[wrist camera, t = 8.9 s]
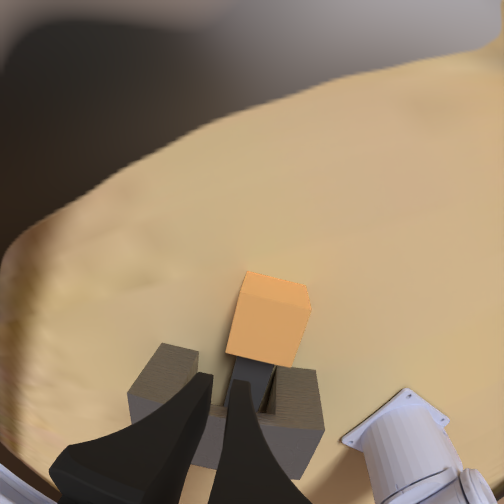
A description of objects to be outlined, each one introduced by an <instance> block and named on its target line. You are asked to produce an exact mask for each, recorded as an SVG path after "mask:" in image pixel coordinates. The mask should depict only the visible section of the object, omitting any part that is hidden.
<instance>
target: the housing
mask: <svg viewBox="0 0 504 504" xmlns="http://www.w3.org/2000/svg"><path fill="white" fill-rule="evenodd" d="M198 355H199V351H194V350H190V349H186V348H181V347H177V346H173V345H169V344H165V343H162V344H161V345H160V346H159V348H158V349H157V351H156V352H155V353H154V355H153V356H152V358H151V359H150V361H149V362H148V363H147V365H146V366H145V368H144V369H143V371H142V372H141V373H140V375H139V376H138V378H137V379H136V381H135V382H134V383H133V385H132V386H131V388H130V389H129V391H128V392H127V396H128V403H129V410H130V416H131V423H132V424H134V423H136V422H138V421H140V420H141V419H143V418H145V417H146V416H148V415H149V414H151V413H152V412H154V411H155V410H157V409H158V408H159V407H161V406H162V405H163V404H165V403H166V402H167V401H168V400H170V399H171V398H172V397H173V396H174V395H175V394H176V393H178V392H179V391H180V390H181V389H182V388H183V387H184V386H185V385H186V384H187V383H188V382H189V381H190V380H191V379H192V378H193V376H194V375H195V374H196V373H197V370H198ZM227 409H228V407H223V406H218V405H213V404H211V406H210V412H209V416H208V420H207V423H206V427H205V430H204V433H203V435H202V438H201V440H200V443H199V445H198V447H197V450H196V452H195V455H194V457H193V460H192V462H191V464H193V465H197V466H201V467H206V468H211V469H216V470H217V468H218V464H219V460H220V456H221V452H222V448H223V438H224V430H225V423H226V416H227ZM255 413H256V416H257V419H258V422H259V425H260V428H261V430H262V433H263V435H264V437H265V440H266V442H267V444H268V446H269V448H270V450H271V451H272V453H273V455H274V457H275V458H276V460H277V462H278V463H279V465H280V466H281V468H282V469H283V470H284V472H285V473H286V475H287V476H288V477H289V479H295V480H300V478H301V477H302V475H303V473H304V471H305V469H306V467H307V466H308V464H309V462H310V460H311V458H312V456H313V454H314V452H315V450H316V448H317V446H318V444H319V442H320V440H321V438H322V435H323V433H324V431H325V427H324V421H323V414H322V407H321V401H320V394H319V388H318V382H317V376H316V370H309V369H301V368H293V367H291V368H290V367H285V366H278V365H277V368H276V372H275V376H274V380H273V384H272V388H271V392H270V396H269V400H268V404H267V408H266V412H265V413H258V412H255Z"/></svg>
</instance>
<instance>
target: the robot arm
mask: <svg viewBox="0 0 504 504" xmlns="http://www.w3.org/2000/svg"><path fill="white" fill-rule="evenodd" d="M212 385H213V375H211V374H206V373H202V372H198V373H196V374H195V375H194V376H193V378H192V379H191V380H190V381H189V382H188V383H187V384H186V385H185V386H184V387H183V388H182V389H181V390H180V391H179V392H178V393H176V394H175V395H174V396H173V397H172V398H171V399H170V400H168V401H167V402H166V403H165V404H163V405H162V406H161V407H159V408H158V409H157V410H155V411H154V412H152V413H151V414H149V415H148V416H146V417H145V418H143V419H141V420H140V421H138V422H136V423H134V424H132V425H130V426H128V427H126V428H124V429H122V430H120V431H117V432H115V433H112V434H110V435H107V436H104V437H101V438H98V439H95V440H91V441H87V442H82V443H78V444H73V445H68V446H67V447H66V449H64V450H63V451H62V452H61V454H60V455H59V456H58V457H57V459H56V460H55V462H54V463H53V464H52V466H51V467H50V468H49V475H50V477H51V479H52V480H53V482H54V483H55V485H56V486H57V488H58V489H59V490H60V492H61V493H62V497H61V498H60V500H59V501H58V503H56V502H54V501H52V500H51V499H49V498H48V497H46V496H45V495H43V494H41V493H40V492H38V491H37V490H35V489H34V488H32V487H31V486H29V485H28V484H27V483H25V482H24V481H22V480H21V479H20V478H18V477H17V476H16V475H14V474H13V473H12V472H10V471H9V470H8V469H6V468H5V467H4V466H3V465H1V464H0V504H178V503H179V499H180V496H181V492H182V489H183V485H184V482H185V478H186V475H187V472H188V469H189V467H190V464H191V462H192V460H193V457H194V455H195V452H196V450H197V447H198V445H199V443H200V440H201V438H202V435H203V433H204V430H205V427H206V423H207V420H208V416H209V412H210V406H211V395H212ZM408 395H409V396H408ZM449 422H450V419H449V418H448V417H447V416H446V415H444V414H443V413H441V412H440V411H439V410H437V409H436V408H435V407H433V406H432V405H431V404H429V403H428V402H427V401H425V400H424V399H423V398H421V397H420V396H419V395H417V394H416V393H415V392H413V391H412V390H411V389H409V388H404V389H403V390H401V391H400V392H399V393H398V394H397V395H396V396H395V397H393V398H392V399H391V400H390V401H389V402H388V403H386V404H385V405H384V406H383V407H382V408H380V409H379V410H378V411H377V412H375V413H374V414H373V415H372V416H370V417H369V418H368V419H367V420H365V421H364V422H363V423H361V424H360V425H359V426H357V427H356V428H355V429H353V430H352V431H351V432H349V433H348V434H346V435H345V436H343V437H342V439H341V440H342V443H343V444H346V445H348V446H350V447H352V448H354V449H356V450H359V451H361V452H363V453H364V457H365V461H366V465H367V469H368V474H369V478H370V482H371V487H372V491H373V496H374V500H375V504H497V501H496V499H495V497H494V495H493V493H492V491H491V489H490V487H489V485H488V484H487V482H486V481H485V479H484V478H483V476H482V475H481V474H480V472H479V471H478V470H477V469H469V468H466V469H465V470H463V465H462V462H461V460H460V458H459V456H458V454H457V452H456V450H455V448H454V446H453V444H452V442H451V440H450V439H449V437H448V435H447V433H446V431H445V429H444V427H445V426H446V425H447V424H448V423H449ZM208 504H312V503H311V502H310V501H309V500H308V499H307V498H306V497H305V496H304V495H303V494H302V493H301V492H300V491H299V490H298V488H297V487H296V486H295V485H294V484H293V482H292V481H291V480H290V479H289V477H288V476H287V475H286V473H285V472H284V470H283V469H282V468H281V466H280V465H279V463H278V462H277V460H276V458H275V457H274V455H273V453H272V451H271V450H270V448H269V446H268V444H267V442H266V440H265V437H264V435H263V433H262V430H261V428H260V425H259V422H258V419H257V416H256V413H255V409H254V405H253V401H252V395H251V384H250V382H249V381H243V380H237V379H233V382H232V386H231V389H230V396H229V403H228V409H227V416H226V423H225V430H224V438H223V448H222V452H221V456H220V460H219V464H218V468H217V471H216V475H215V479H214V483H213V486H212V490H211V493H210V497H209V501H208Z"/></svg>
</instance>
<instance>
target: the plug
mask: <svg viewBox="0 0 504 504" xmlns="http://www.w3.org/2000/svg"><path fill="white" fill-rule="evenodd" d="M311 310H312V308H311V304H310V300H309V297H308V293H307V289H306V285H302V284H298V283H294V282H290V281H286V280H282V279H278V278H274V277H270V276H266V275H262V274H258V273H254V272H250V271H247V273H246V276H245V279H244V282H243V285H242V288H241V290H240V294H239V298H238V302H237V306H236V310H235V314H234V319H233V323H232V327H231V331H230V335H229V339H228V343H227V348H226V352H225V353H229V354H233V355H237V357H236V361H235V365H234V369H233V372H232V376H231V380H230V384H229V387H228V391H227V395H226V398H225V402H224V406H223V407H228V403H229V396H230V389H231V386H232V382H233V379H237V380H243V381H249V382H250V384H251V395H252V401H253V405H254V409H255V412H257V411H258V409H259V406H260V404H261V401H262V398H263V395H264V393H265V390H266V387H267V384H268V382H269V379H270V376H271V373H272V371H273V368H274V365H280V366H285V367H290V368H291V366H292V363H293V361H294V358H295V355H296V353H297V350H298V347H299V344H300V342H301V339H302V336H303V333H304V331H305V328H306V325H307V322H308V319H309V316H310V313H311Z"/></svg>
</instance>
